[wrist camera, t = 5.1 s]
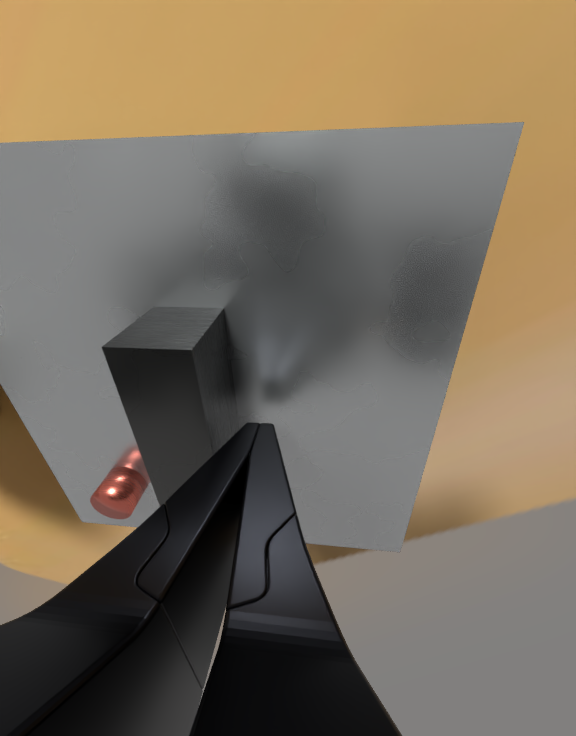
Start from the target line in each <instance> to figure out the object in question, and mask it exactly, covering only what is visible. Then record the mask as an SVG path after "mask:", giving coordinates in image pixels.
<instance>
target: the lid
mask: <svg viewBox="0 0 576 736" xmlns="http://www.w3.org/2000/svg"><path fill="white" fill-rule="evenodd" d="M523 125H524V122H515V123H490V124H465V125H440V126H414V127H389V128H364V129H339V130H314V131H288V132H263V133H238V134H213V135H187V136H162V137H137V138H112V139H87V140H61V141H36V142H11V143H0V384H1V386H2V387H3V389H4V391H5V393H6V394H7V396H8V398H9V399H10V401H11V403H12V404H13V406H14V408H15V409H16V411H17V413H18V415H19V416H20V418H21V420H22V421H23V423H24V425H25V426H26V428H27V430H28V431H29V433H30V435H31V436H32V438H33V440H34V442H35V443H36V445H37V447H38V448H39V450H40V452H41V453H42V455H43V457H44V458H45V460H46V462H47V464H48V465H49V467H50V469H51V470H52V472H53V474H54V475H55V477H56V479H57V480H58V482H59V484H60V486H61V487H62V489H63V491H64V492H65V494H66V496H67V497H68V499H69V501H70V502H71V504H72V506H73V508H74V509H75V511H76V513H77V514H78V516H79V518H80V519H81V521H82V522H88V523H98V524H109V525H119V526H130V527H139V526H140V525H141V524H142V523H143V522H144V521H145V520H146V519H147V518H148V517H149V516H151V515H152V514H153V513H154V512H155V511H156V510H157V509H158V508H159V507H160V506H161V505H162V504H165V501H166V500H167V499H168V498H169V497H170V496H171V495H172V494H173V493H175V492H176V491H177V490H178V489H179V488H180V487H181V486H182V485H183V484H184V483H185V482H186V481H187V480H188V479H189V478H190V477H191V476H192V475H193V474H194V473H195V472H196V471H197V470H198V469H199V468H200V467H201V466H202V465H203V464H204V463H205V462H206V461H208V460H209V459H210V458H211V457H212V456H213V455H214V454H215V453H216V452H217V451H218V450H219V449H220V448H221V447H222V446H223V445H224V444H225V443H226V442H227V441H228V440H229V439H230V438H231V437H232V436H233V435H234V434H235V433H236V432H237V431H238V430H240V429H241V428H242V427H243V426H244V425H245V424H246V423H248V422H254V423H260V424H261V423H272V424H274V427H275V431H276V434H277V438H278V442H279V446H280V450H281V454H282V458H283V461H284V465H285V469H286V473H287V477H288V481H289V485H290V488H291V492H292V496H293V500H294V504H295V508H296V511H297V516H298V519H299V522H300V526H301V530H302V533H303V537H304V540H305V543H308V544H318V545H329V546H339V547H350V548H360V549H371V550H381V551H392V552H400V551H401V548H402V544H403V541H404V537H405V534H406V530H407V527H408V523H409V520H410V516H411V513H412V509H413V506H414V503H415V499H416V496H417V492H418V489H419V485H420V482H421V478H422V475H423V471H424V468H425V464H426V461H427V457H428V454H429V451H430V447H431V444H432V440H433V437H434V433H435V430H436V426H437V423H438V419H439V416H440V412H441V409H442V405H443V402H444V399H445V395H446V392H447V388H448V385H449V381H450V378H451V374H452V371H453V367H454V364H455V360H456V357H457V353H458V350H459V346H460V343H461V340H462V336H463V333H464V329H465V326H466V322H467V319H468V315H469V312H470V308H471V305H472V301H473V298H474V294H475V291H476V288H477V284H478V281H479V277H480V274H481V270H482V267H483V263H484V260H485V256H486V253H487V249H488V246H489V242H490V239H491V236H492V232H493V229H494V225H495V222H496V218H497V215H498V211H499V208H500V204H501V201H502V197H503V194H504V190H505V187H506V184H507V180H508V177H509V173H510V170H511V166H512V163H513V159H514V156H515V152H516V149H517V145H518V142H519V138H520V135H521V132H522V128H523Z"/></svg>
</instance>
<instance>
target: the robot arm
mask: <svg viewBox="0 0 576 736" xmlns="http://www.w3.org/2000/svg"><path fill="white" fill-rule="evenodd" d="M226 604H227V605H226ZM225 608H226V613H225V619H224V625H223V630H222V635H221V640H220V644H219V648H218V651H217V654H216V657H215V660H214V663H213V666H212V669H211V672H210V675H209V678H208V681H207V684H206V687H205V690H204V693H203V696H202V692H203V691H202V689H203V688H204V684H205V680H206V677H207V673H208V669H209V666H210V662H211V659H212V655H213V651H214V648H215V644H216V640H217V637H218V633H219V629H220V626H221V622H222V619H223V615H224V611H225ZM201 696H202V699H201ZM200 699H201V702H200ZM199 703H200V705H199ZM198 707H199V708H198ZM0 736H402V735H401V733H400V731H399V730H398V728H397V727H396V725H395V723H394V722H393V720H392V719H391V717H390V715H389V714H388V712H387V711H386V709H385V707H384V706H383V704H382V703H381V701H380V699H379V698H378V696H377V695H376V693H375V691H374V690H373V688H372V687H371V685H370V684H369V682H368V680H367V679H366V677H365V675H364V674H363V672H362V671H361V669H360V667H359V666H358V664H357V663H356V661H355V659H354V657H353V655H352V653H351V652H350V650H349V648H348V646H347V644H346V641H345V639H344V637H343V635H342V633H341V630H340V628H339V626H338V624H337V621H336V619H335V616H334V614H333V612H332V609H331V607H330V604H329V602H328V600H327V597H326V595H325V592H324V590H323V588H322V586H321V583H320V581H319V578H318V576H317V573H316V571H315V568H314V566H313V563H312V560H311V558H310V555H309V552H308V550H307V547H306V543H305V540H304V537H303V533H302V530H301V526H300V522H299V519H298V516H297V511H296V508H295V504H294V500H293V496H292V492H291V488H290V485H289V481H288V477H287V473H286V469H285V465H284V461H283V458H282V454H281V450H280V446H279V442H278V438H277V434H276V431H275V427H274V424H272V423H261V424H260V423H254V422H248V423H246V424H245V425H244V426H243V427H242V428H241V429H240V430H238V431H237V432H236V433H235V434H234V435H233V436H232V437H231V438H230V439H229V440H228V441H227V442H226V443H225V444H224V445H223V446H222V447H221V448H220V449H219V450H218V451H217V452H216V453H215V454H214V455H213V456H212V457H211V458H210V459H209V460H208V461H206V462H205V463H204V464H203V465H202V466H201V467H200V468H199V469H198V470H197V471H196V472H195V473H194V474H193V475H192V476H191V477H190V478H189V479H188V480H187V481H186V482H185V483H184V484H183V485H182V486H181V487H180V488H179V489H178V490H177V491H176V492H175V493H173V494H172V495H171V496H170V497H169V498H168V499H167V500H166V501H165V504H162V505H161V506H160V507H159V508H158V509H157V510H156V511H155V512H154V513H153V514H152V515H151V516H149V517H148V518H147V519H146V520H145V521H144V522H143V523H142V524H141V525H140V526H139V527H138V528H137V529H135V530H134V531H133V532H132V533H131V534H130V535H128V536H127V537H126V538H125V539H124V540H123V541H121V542H120V543H119V544H118V545H117V546H116V547H114V548H113V549H112V550H111V551H109V552H108V553H107V554H106V555H105V556H103V557H102V558H101V559H100V560H98V561H97V562H96V563H95V564H94V565H92V566H91V567H90V568H89V569H87V570H86V571H85V572H84V573H83V574H81V575H80V576H79V577H78V578H76V579H75V580H74V581H73V582H71V583H70V584H69V585H68V586H67V587H65V588H64V589H63V590H62V591H60V592H59V593H58V594H56V595H55V596H54V597H53V598H51V599H50V600H48V601H47V602H45V603H44V604H42V605H41V606H39V607H38V608H36V609H34V610H33V611H31V612H29V613H27V614H25V615H23V616H21V617H19V618H17V619H14V620H12V621H10V622H7V623H5V624H2V625H0Z"/></svg>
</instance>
